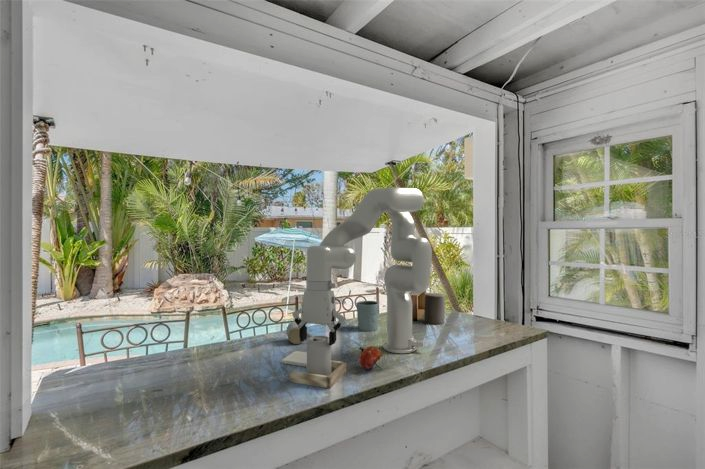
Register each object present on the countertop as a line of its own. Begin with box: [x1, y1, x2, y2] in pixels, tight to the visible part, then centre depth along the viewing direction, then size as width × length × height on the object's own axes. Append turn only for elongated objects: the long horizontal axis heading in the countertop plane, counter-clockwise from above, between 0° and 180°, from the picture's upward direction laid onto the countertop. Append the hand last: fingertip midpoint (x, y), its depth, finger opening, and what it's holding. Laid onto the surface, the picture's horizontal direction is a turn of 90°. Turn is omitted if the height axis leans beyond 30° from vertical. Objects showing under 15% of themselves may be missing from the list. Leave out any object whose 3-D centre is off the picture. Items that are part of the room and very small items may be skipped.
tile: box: [280, 350, 307, 368], centre depth 128 cm, size 10×10×1 cm
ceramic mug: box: [285, 320, 313, 345], centre depth 149 cm, size 11×8×8 cm
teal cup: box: [356, 300, 379, 332], centre depth 168 cm, size 10×10×12 cm
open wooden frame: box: [289, 359, 348, 389], centre depth 113 cm, size 13×13×3 cm
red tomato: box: [358, 345, 383, 371], centre depth 120 cm, size 7×7×10 cm
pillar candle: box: [423, 291, 446, 326], centre depth 180 cm, size 10×10×15 cm
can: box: [306, 335, 332, 376], centre depth 113 cm, size 8×8×12 cm
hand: (317, 342), depth 113 cm, fingers open, 9 cm apart
